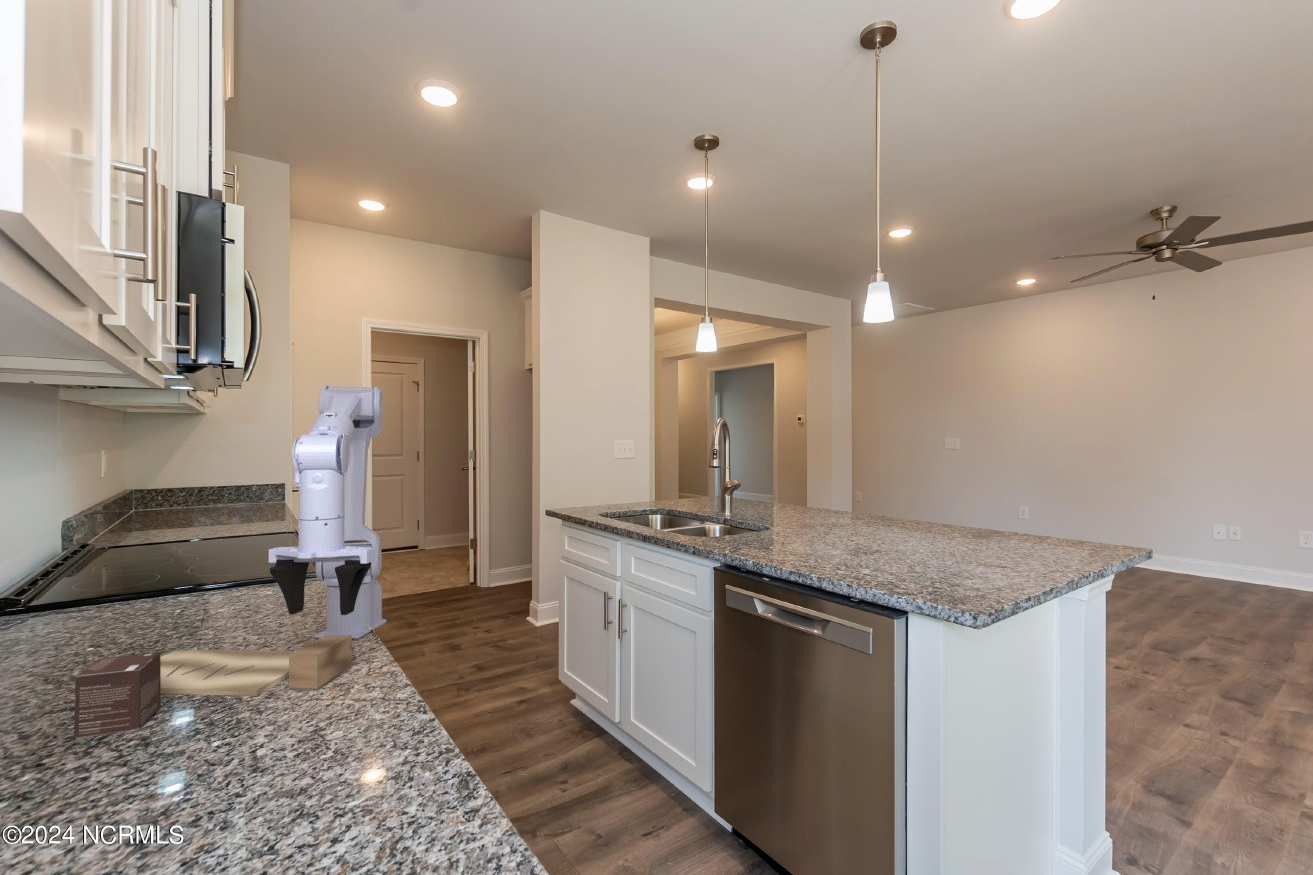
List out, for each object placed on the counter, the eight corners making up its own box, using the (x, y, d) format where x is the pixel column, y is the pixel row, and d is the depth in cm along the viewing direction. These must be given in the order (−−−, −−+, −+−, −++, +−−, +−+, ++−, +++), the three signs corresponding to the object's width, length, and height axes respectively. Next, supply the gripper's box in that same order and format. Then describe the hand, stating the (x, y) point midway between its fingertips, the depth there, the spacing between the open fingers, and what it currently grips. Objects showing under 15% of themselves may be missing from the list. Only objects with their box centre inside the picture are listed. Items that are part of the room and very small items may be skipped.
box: (101, 716, 71) (102, 657, 71) (162, 708, 73) (162, 651, 73) (72, 740, 66) (72, 675, 66) (138, 731, 68) (139, 668, 68)
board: (178, 654, 92) (178, 649, 92) (323, 656, 91) (323, 651, 91) (87, 692, 78) (87, 686, 78) (257, 695, 77) (257, 689, 77)
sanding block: (325, 668, 87) (325, 635, 87) (351, 668, 86) (351, 635, 86) (288, 691, 79) (289, 654, 79) (317, 691, 78) (317, 654, 79)
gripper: (252, 521, 79) (252, 620, 79) (354, 521, 78) (354, 622, 78) (288, 514, 86) (287, 606, 86) (382, 515, 85) (382, 607, 85)
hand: (321, 612), depth 83 cm, fingers open, 7 cm apart
